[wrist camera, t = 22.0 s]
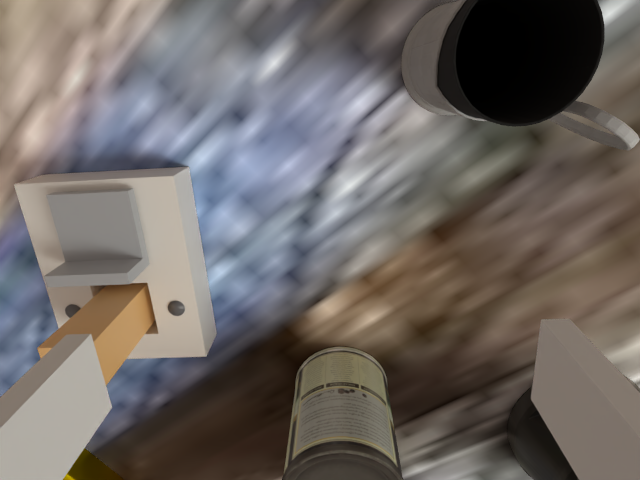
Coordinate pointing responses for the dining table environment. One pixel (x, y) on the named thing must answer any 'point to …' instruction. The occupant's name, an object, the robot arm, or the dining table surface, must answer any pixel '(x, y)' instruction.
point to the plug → (110, 324)
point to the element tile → (90, 469)
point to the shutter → (97, 238)
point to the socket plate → (162, 248)
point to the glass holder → (511, 64)
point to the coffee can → (341, 420)
